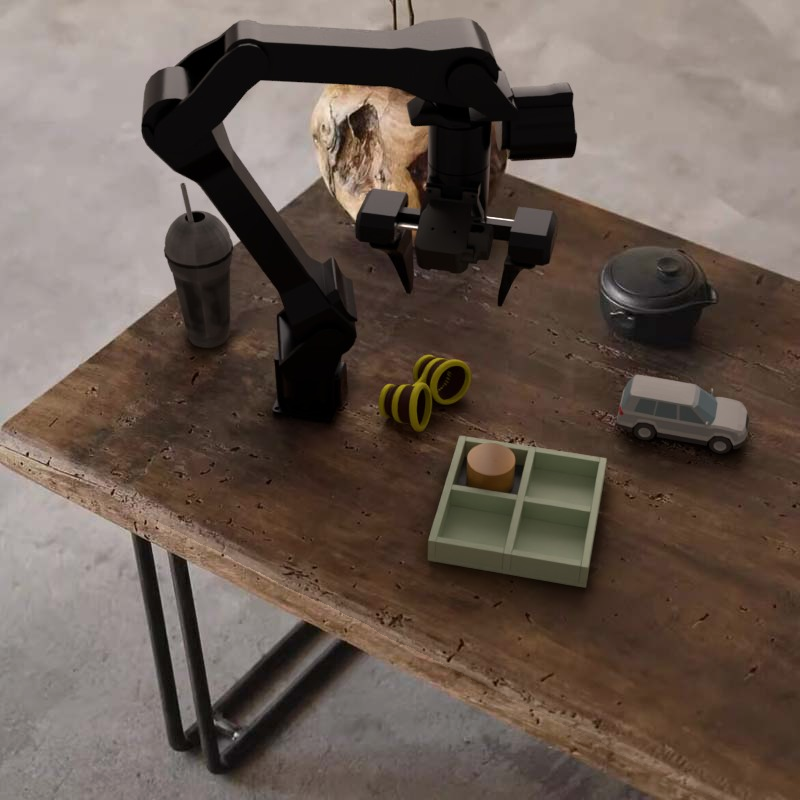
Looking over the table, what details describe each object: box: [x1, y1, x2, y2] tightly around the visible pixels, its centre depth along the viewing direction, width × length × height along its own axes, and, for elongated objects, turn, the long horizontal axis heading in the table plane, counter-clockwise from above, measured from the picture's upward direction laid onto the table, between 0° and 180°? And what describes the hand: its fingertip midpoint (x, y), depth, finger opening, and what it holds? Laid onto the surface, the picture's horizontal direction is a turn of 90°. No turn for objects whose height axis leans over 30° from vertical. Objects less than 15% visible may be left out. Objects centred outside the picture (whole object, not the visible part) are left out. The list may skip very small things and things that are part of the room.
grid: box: [427, 435, 608, 589], centre depth 124 cm, size 14×14×3 cm
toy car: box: [615, 374, 750, 454], centre depth 132 cm, size 6×13×5 cm, turn 74°
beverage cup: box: [163, 182, 234, 349], centre depth 139 cm, size 7×7×20 cm
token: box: [466, 443, 515, 493], centre depth 126 cm, size 5×5×3 cm
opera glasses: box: [378, 354, 472, 433], centre depth 135 cm, size 10×5×5 cm, turn 141°
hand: (454, 297), depth 131 cm, fingers open, 9 cm apart
